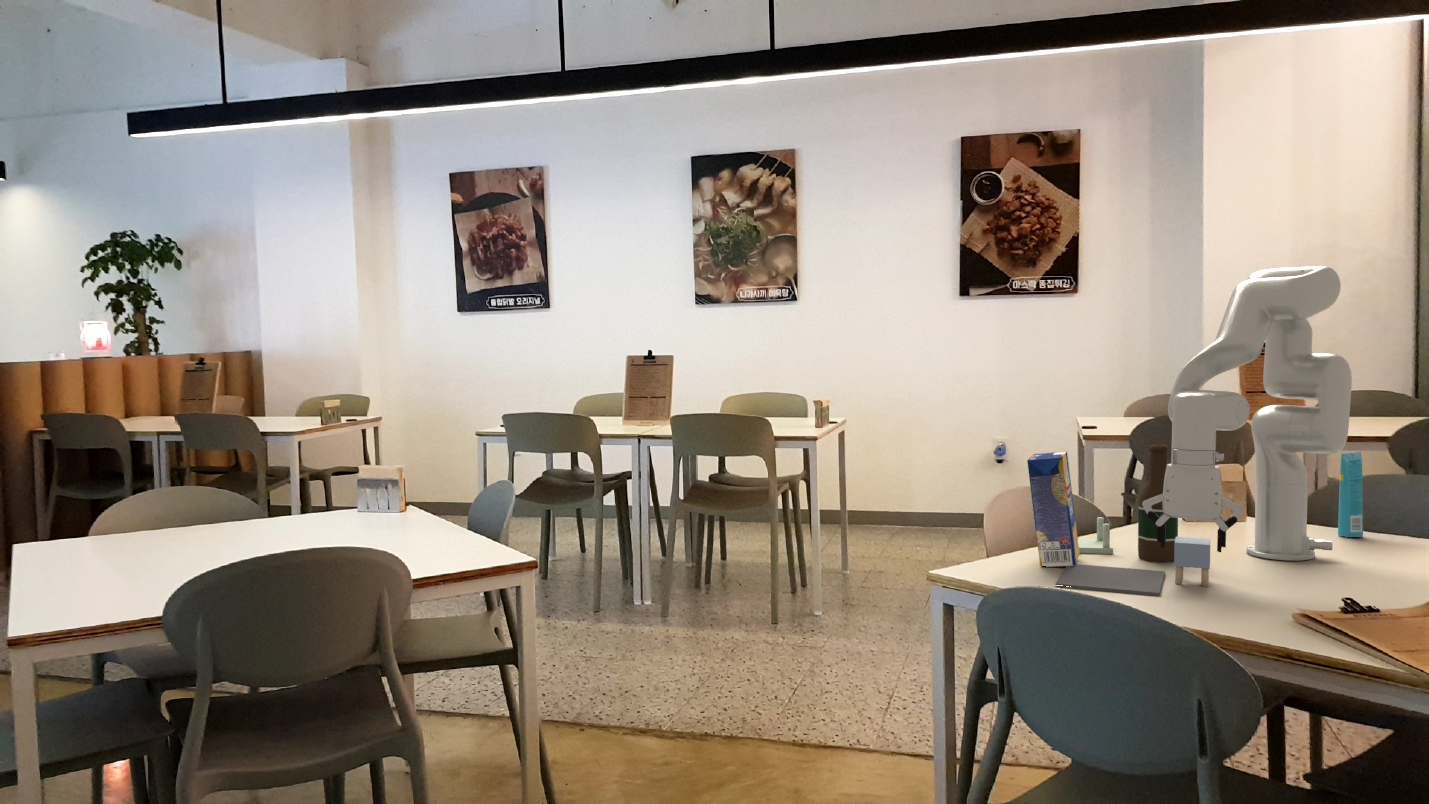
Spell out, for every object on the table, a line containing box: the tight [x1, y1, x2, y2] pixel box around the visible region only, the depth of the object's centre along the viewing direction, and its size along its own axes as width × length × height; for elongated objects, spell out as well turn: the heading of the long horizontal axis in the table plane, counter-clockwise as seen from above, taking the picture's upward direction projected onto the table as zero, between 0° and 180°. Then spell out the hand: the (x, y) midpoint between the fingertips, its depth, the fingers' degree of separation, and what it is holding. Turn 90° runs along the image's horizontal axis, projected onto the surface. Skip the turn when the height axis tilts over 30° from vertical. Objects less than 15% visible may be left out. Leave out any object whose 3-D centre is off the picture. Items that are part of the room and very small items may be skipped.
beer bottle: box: [1137, 443, 1179, 564], centre depth 211 cm, size 8×8×24 cm
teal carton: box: [1337, 451, 1364, 538], centre depth 230 cm, size 7×5×19 cm, turn 124°
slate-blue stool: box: [1173, 536, 1211, 588], centre depth 192 cm, size 6×6×8 cm
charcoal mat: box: [1054, 563, 1166, 597], centre depth 195 cm, size 18×18×1 cm
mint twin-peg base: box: [1078, 516, 1114, 555], centre depth 223 cm, size 10×10×6 cm
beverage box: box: [1026, 451, 1081, 568], centre depth 210 cm, size 7×11×22 cm, turn 156°
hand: (1190, 548), depth 191 cm, fingers open, 9 cm apart
